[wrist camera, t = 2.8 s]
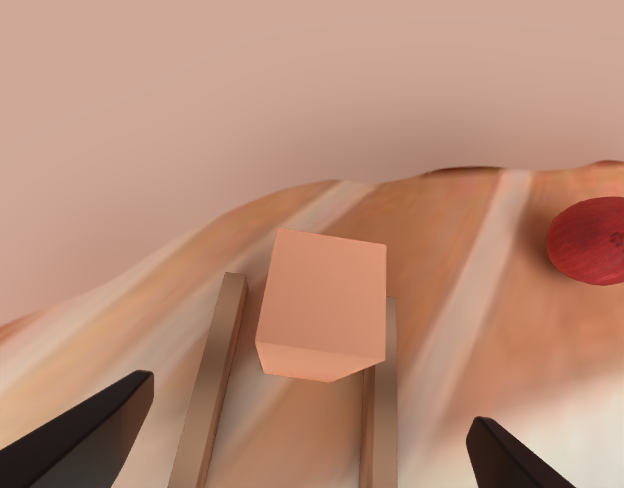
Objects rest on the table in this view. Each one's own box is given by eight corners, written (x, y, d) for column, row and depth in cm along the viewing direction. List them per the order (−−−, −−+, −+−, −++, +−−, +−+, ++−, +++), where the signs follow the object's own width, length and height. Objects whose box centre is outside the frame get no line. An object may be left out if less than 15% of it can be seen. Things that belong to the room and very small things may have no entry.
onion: (608, 292, 24) (750, 244, 17) (545, 305, 23) (668, 259, 16) (566, 226, 26) (674, 161, 19) (507, 235, 25) (598, 169, 18)
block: (330, 382, 19) (385, 360, 10) (264, 373, 19) (254, 341, 9) (335, 316, 21) (386, 244, 11) (275, 308, 21) (277, 227, 11)
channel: (380, 517, 16) (397, 534, 14) (178, 492, 16) (162, 506, 13) (383, 308, 21) (396, 297, 19) (230, 286, 21) (225, 272, 19)
